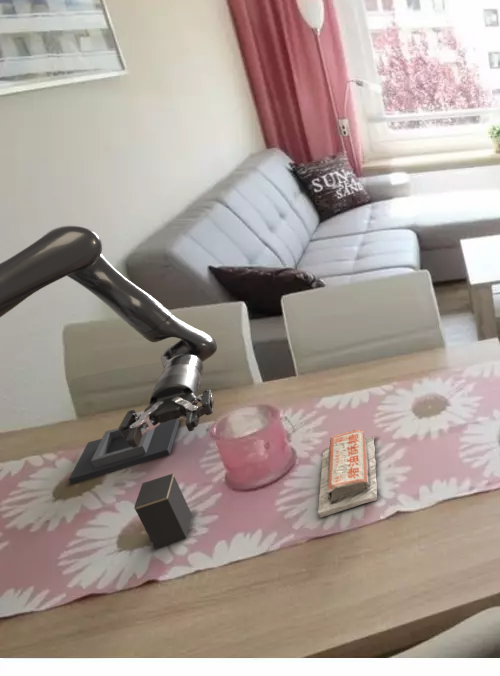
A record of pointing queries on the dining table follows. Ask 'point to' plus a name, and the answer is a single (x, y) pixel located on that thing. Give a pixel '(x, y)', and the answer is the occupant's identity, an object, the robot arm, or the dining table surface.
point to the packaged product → (347, 473)
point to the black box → (163, 511)
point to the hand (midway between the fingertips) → (162, 435)
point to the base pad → (123, 451)
